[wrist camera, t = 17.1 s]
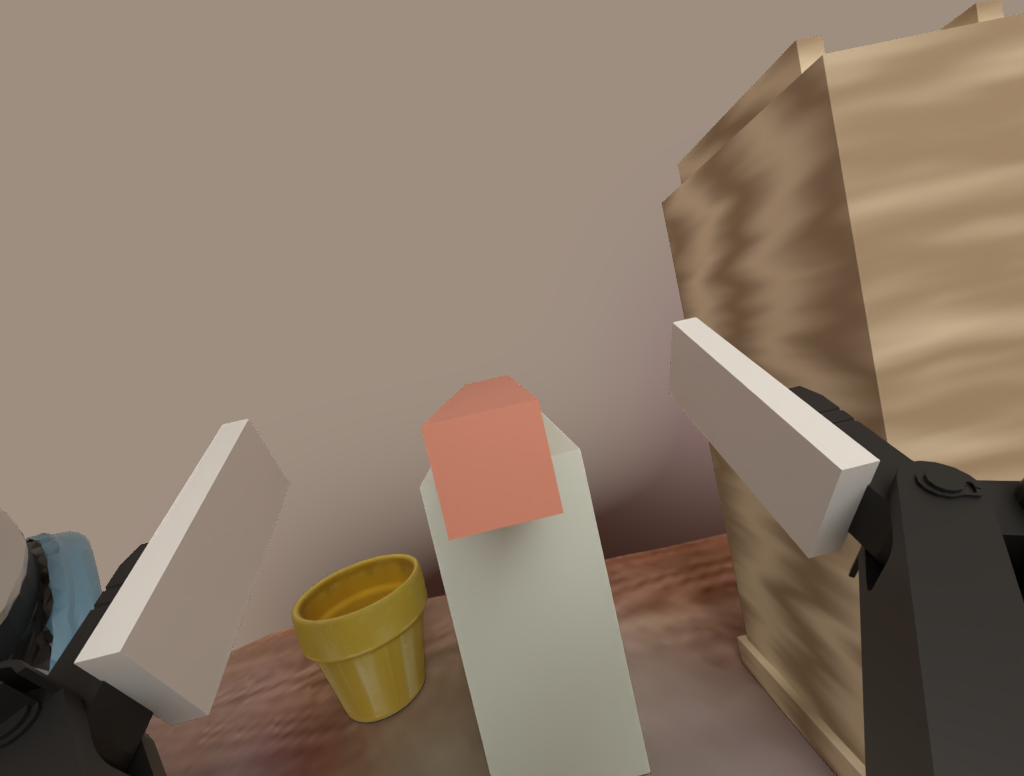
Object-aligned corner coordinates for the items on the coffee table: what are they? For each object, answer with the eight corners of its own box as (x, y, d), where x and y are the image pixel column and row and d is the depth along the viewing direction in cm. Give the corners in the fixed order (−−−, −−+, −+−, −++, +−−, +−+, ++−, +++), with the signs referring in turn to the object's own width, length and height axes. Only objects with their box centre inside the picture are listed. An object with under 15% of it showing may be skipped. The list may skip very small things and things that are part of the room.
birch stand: (1183, 869, 17) (1067, -42, 15) (967, 931, 17) (813, 9, 14) (859, 632, 32) (775, 162, 30) (741, 662, 32) (648, 189, 29)
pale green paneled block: (650, 772, 25) (579, 445, 24) (499, 812, 25) (418, 483, 24) (583, 602, 43) (541, 409, 42) (495, 624, 43) (449, 431, 42)
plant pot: (330, 676, 41) (304, 577, 40) (439, 634, 44) (416, 541, 43) (311, 770, 31) (275, 641, 30) (453, 708, 34) (423, 588, 33)
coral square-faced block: (563, 513, 15) (538, 399, 15) (448, 540, 15) (420, 425, 14) (516, 417, 41) (507, 375, 41) (474, 426, 41) (465, 384, 40)
